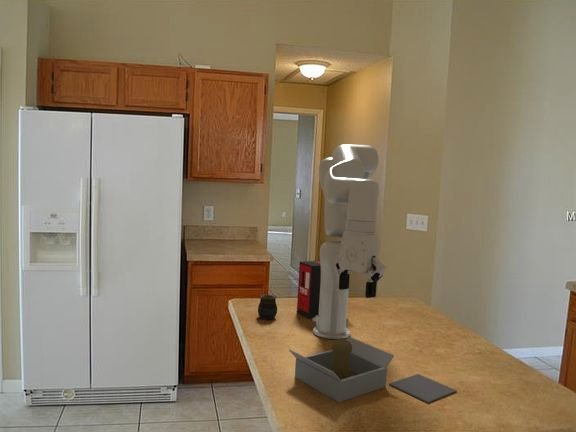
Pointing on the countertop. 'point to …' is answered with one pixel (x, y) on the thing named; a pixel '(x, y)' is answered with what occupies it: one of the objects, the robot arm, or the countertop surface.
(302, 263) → the cleaning product box
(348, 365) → the cork
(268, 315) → the mate gourd
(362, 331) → the countertop surface
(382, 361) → the carton
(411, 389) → the rubber mat
